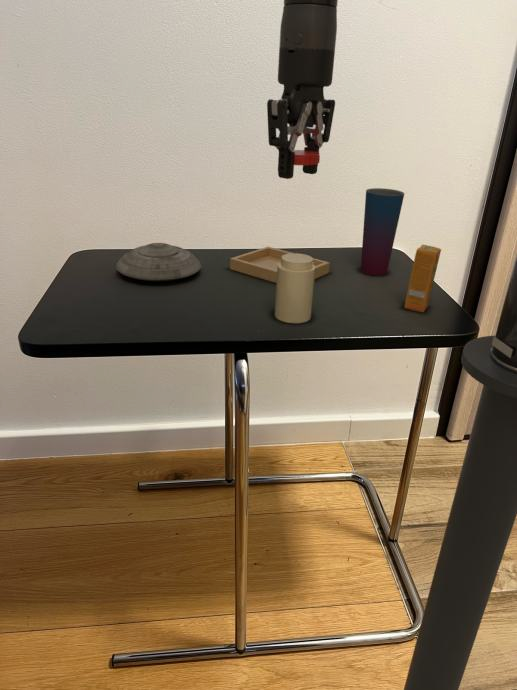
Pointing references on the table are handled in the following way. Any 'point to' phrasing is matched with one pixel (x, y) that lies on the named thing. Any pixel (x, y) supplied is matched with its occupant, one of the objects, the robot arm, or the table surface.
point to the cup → (379, 229)
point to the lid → (306, 157)
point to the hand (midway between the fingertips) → (297, 175)
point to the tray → (268, 264)
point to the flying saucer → (158, 263)
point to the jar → (294, 288)
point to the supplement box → (422, 278)
